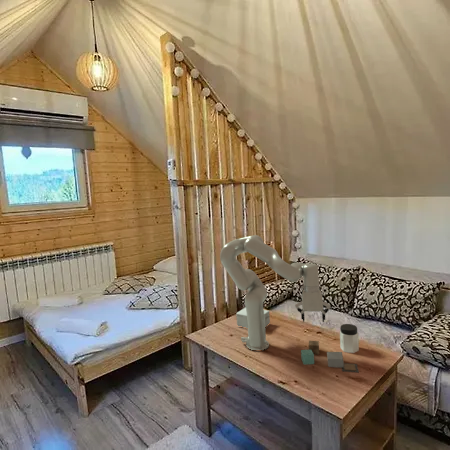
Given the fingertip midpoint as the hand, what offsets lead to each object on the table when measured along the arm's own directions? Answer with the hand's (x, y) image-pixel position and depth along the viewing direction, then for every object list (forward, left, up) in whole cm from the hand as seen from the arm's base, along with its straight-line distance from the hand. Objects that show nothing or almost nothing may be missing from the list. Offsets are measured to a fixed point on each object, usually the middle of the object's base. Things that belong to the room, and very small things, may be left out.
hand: (313, 320), depth 167 cm
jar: (+17, +5, -17) cm, 25 cm away
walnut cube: (0, 0, -17) cm, 17 cm away
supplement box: (-37, +29, -17) cm, 50 cm away
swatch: (+16, -13, -17) cm, 26 cm away
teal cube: (-3, -10, -17) cm, 20 cm away
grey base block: (+10, -10, -17) cm, 22 cm away
